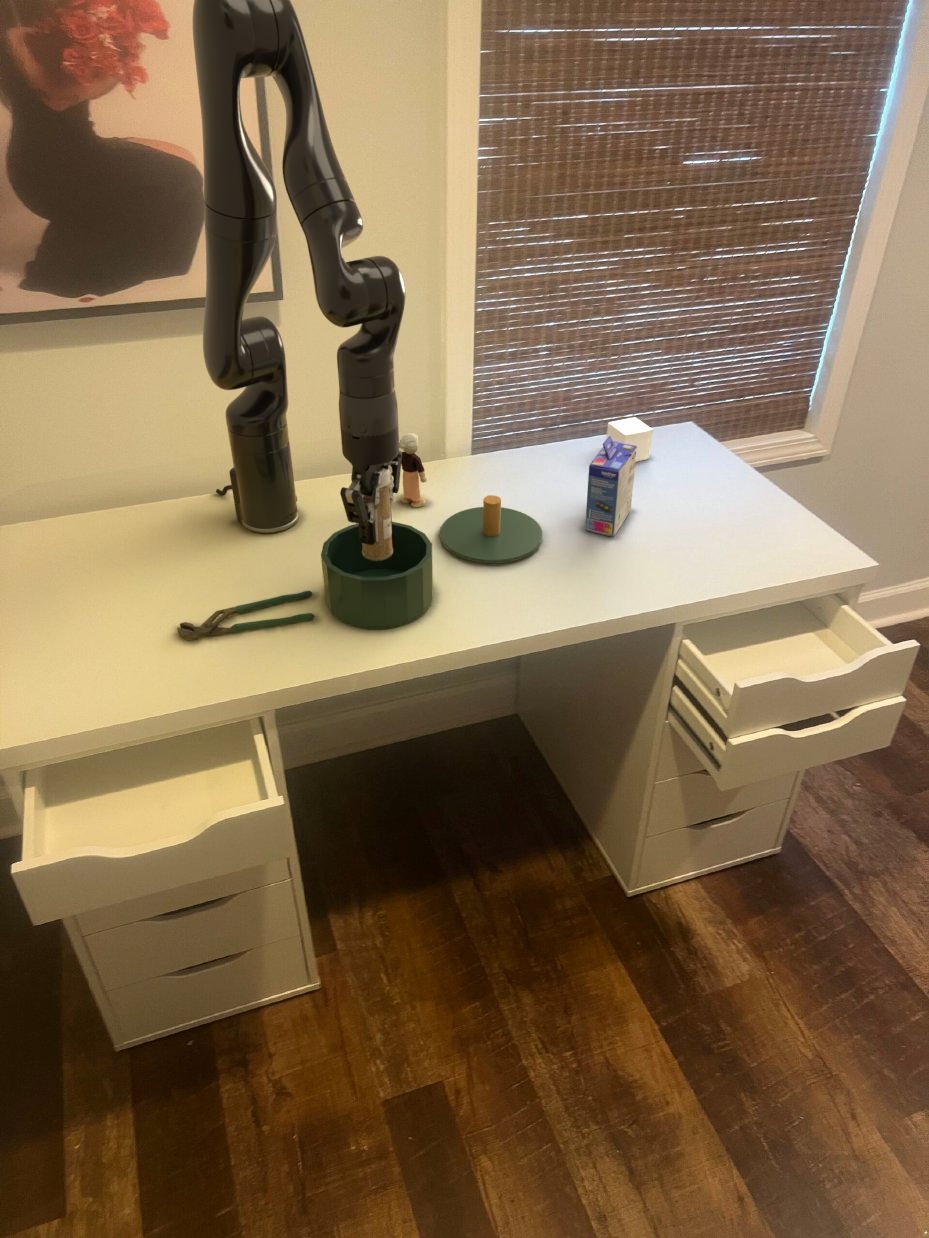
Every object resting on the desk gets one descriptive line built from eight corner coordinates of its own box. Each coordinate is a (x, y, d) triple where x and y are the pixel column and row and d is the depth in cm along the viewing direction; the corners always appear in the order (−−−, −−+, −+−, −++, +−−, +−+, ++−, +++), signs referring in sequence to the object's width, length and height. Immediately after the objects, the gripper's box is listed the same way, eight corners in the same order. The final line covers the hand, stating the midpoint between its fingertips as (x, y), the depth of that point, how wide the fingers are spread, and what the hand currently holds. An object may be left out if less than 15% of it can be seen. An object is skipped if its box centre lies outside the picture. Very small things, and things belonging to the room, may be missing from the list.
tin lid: (423, 552, 144) (422, 513, 139) (463, 505, 156) (463, 467, 152) (522, 575, 139) (524, 535, 134) (555, 524, 151) (558, 486, 147)
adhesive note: (621, 465, 168) (625, 435, 165) (604, 451, 173) (607, 422, 169) (648, 459, 170) (653, 429, 167) (631, 446, 175) (635, 416, 171)
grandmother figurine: (436, 502, 157) (435, 434, 149) (423, 511, 154) (421, 443, 146) (399, 490, 160) (397, 423, 152) (387, 499, 157) (383, 432, 150)
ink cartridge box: (600, 503, 157) (609, 426, 148) (631, 510, 155) (641, 432, 146) (581, 530, 149) (589, 450, 141) (614, 538, 148) (623, 457, 139)
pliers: (311, 595, 134) (311, 588, 134) (321, 619, 129) (320, 612, 129) (175, 620, 129) (174, 612, 128) (180, 646, 124) (178, 638, 123)
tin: (307, 614, 130) (301, 565, 125) (357, 559, 142) (354, 512, 137) (404, 640, 126) (402, 590, 121) (449, 582, 137) (449, 534, 132)
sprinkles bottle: (399, 556, 129) (395, 471, 121) (371, 565, 127) (365, 479, 119) (383, 542, 132) (379, 458, 124) (355, 551, 130) (349, 466, 122)
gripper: (368, 396, 123) (375, 506, 134) (315, 438, 113) (327, 554, 123) (418, 405, 121) (421, 516, 131) (369, 448, 111) (376, 565, 121)
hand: (376, 533), depth 127 cm, fingers closed on sprinkles bottle, 4 cm apart
